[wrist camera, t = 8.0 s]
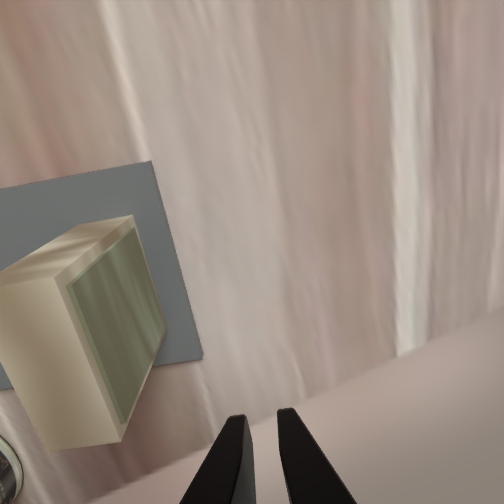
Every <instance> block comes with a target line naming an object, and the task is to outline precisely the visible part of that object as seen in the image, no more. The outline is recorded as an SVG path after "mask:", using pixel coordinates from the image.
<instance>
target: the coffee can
mask: <svg viewBox="0 0 504 504" xmlns="http://www.w3.org/2000/svg"><path fill="white" fill-rule="evenodd" d="M22 480H23V473H22V468H21V464H20V461H19V459H18V457H17V455H16V454H15V452H14V450H13V449H12V448H11V447H10V445H9V444H8V443H7V442H6V441H4V440H3V439H2V437H1V436H0V504H11V502H12V501H13V500H14V499H15V498H16V496H17V495H18V493H19V491H20V489H21V486H22Z"/></svg>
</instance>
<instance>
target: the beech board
mask: <svg viewBox="0 0 504 504" xmlns="http://www.w3.org/2000/svg"><path fill="white" fill-rule="evenodd" d="M166 330H167V325H166V322H165V318H164V315H163V312H162V308H161V305H160V302H159V299H158V295H157V292H156V289H155V286H154V282H153V279H152V276H151V272H150V269H149V266H148V263H147V259H146V256H145V253H144V249H143V246H142V243H141V240H140V236H139V233H138V230H137V227H136V223H135V220H134V217H133V215H129V216H123V217H118V218H112V219H106V220H101V221H95V222H90V223H84V224H79V225H77V226H75V227H74V228H72V229H70V230H69V231H67V232H65V233H64V234H62V235H60V236H59V237H57V238H55V239H54V240H52V241H50V242H49V243H47V244H45V245H44V246H42V247H40V248H39V249H37V250H35V251H34V252H32V253H30V254H29V255H27V256H25V257H24V258H22V259H20V260H19V261H17V262H15V263H14V264H12V265H10V266H9V267H7V268H5V269H4V270H2V271H0V362H1V364H2V366H3V368H4V370H5V372H6V374H7V376H8V378H9V380H10V382H11V384H12V385H13V387H14V389H15V391H16V393H17V395H18V397H19V399H20V401H21V403H22V405H23V407H24V409H25V411H26V413H27V415H28V417H29V419H30V421H31V423H32V425H33V427H34V429H35V430H36V432H37V434H38V436H39V438H40V440H41V442H42V444H43V446H44V448H45V450H46V452H53V451H60V450H67V449H74V448H81V447H88V446H95V445H103V444H110V443H117V442H121V441H122V438H123V436H124V433H125V431H126V429H127V426H128V424H129V421H130V419H131V416H132V414H133V411H134V409H135V406H136V404H137V401H138V399H139V397H140V394H141V392H142V389H143V387H144V384H145V382H146V379H147V377H148V374H149V372H150V370H151V367H152V365H153V362H154V360H155V357H156V355H157V352H158V350H159V347H160V345H161V343H162V340H163V338H164V335H165V333H166Z"/></svg>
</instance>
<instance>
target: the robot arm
mask: <svg viewBox="0 0 504 504" xmlns="http://www.w3.org/2000/svg"><path fill="white" fill-rule="evenodd" d="M277 422H278V438H279V451H280V457H281V462H282V467H283V472H284V477H285V482H286V487H287V492H288V497H289V501H290V504H357V503H356V501H355V500H354V498H353V497H352V495H351V494H350V492H349V491H348V489H347V488H346V486H345V485H344V483H343V482H342V480H341V479H340V477H339V476H338V474H337V473H336V471H335V470H334V468H333V467H332V465H331V464H330V462H329V461H328V459H327V458H326V456H325V454H324V453H323V451H322V450H321V448H320V447H319V446H318V444H317V443H316V441H315V440H314V438H313V436H312V435H311V434H310V432H309V430H308V429H307V427H306V426H305V424H304V423H303V421H302V420H301V418H300V417H299V415H298V414H297V412H296V411H295V409H294V408H284V409H279V410H278V411H277ZM254 474H255V473H254V457H253V443H252V438H251V434H250V429H249V425H248V421H247V417H246V415H244V414H241V415H234V416H230V417H229V418H228V419H227V421H226V423H225V425H224V426H223V428H222V430H221V432H220V433H219V435H218V437H217V439H216V440H215V442H214V444H213V446H212V447H211V449H210V451H209V453H208V455H207V456H206V458H205V460H204V461H203V463H202V465H201V467H200V468H199V470H198V472H197V474H196V475H195V477H194V479H193V481H192V482H191V484H190V486H189V488H188V489H187V491H186V493H185V494H184V496H183V498H182V500H181V501H180V503H179V504H256V493H255V492H256V490H255V475H254Z"/></svg>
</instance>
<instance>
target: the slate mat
mask: <svg viewBox="0 0 504 504" xmlns="http://www.w3.org/2000/svg"><path fill="white" fill-rule="evenodd" d="M129 215H133V217H134V220H135V223H136V227H137V230H138V233H139V236H140V240H141V243H142V246H143V249H144V253H145V256H146V259H147V263H148V266H149V269H150V272H151V276H152V279H153V282H154V286H155V289H156V292H157V295H158V299H159V302H160V305H161V308H162V312H163V315H164V318H165V322H166V325H167V330H166V333H165V335H164V338H163V340H162V343H161V345H160V347H159V350H158V352H157V355H156V357H155V360H154V362H153V365H152V367H153V366H159V365H166V364H172V363H179V362H186V361H192V360H199V359H202V358H203V351H202V347H201V343H200V339H199V336H198V332H197V328H196V325H195V321H194V317H193V314H192V310H191V306H190V302H189V299H188V295H187V291H186V288H185V284H184V280H183V276H182V273H181V269H180V265H179V262H178V258H177V254H176V251H175V247H174V243H173V239H172V236H171V232H170V228H169V225H168V221H167V217H166V213H165V210H164V206H163V202H162V199H161V195H160V191H159V188H158V184H157V180H156V176H155V173H154V169H153V165H152V162H151V161H146V162H141V163H136V164H130V165H125V166H120V167H114V168H109V169H104V170H98V171H93V172H88V173H82V174H77V175H72V176H66V177H61V178H56V179H50V180H45V181H40V182H34V183H29V184H24V185H18V186H13V187H8V188H2V189H0V271H2V270H4V269H5V268H7V267H9V266H10V265H12V264H14V263H15V262H17V261H19V260H20V259H22V258H24V257H25V256H27V255H29V254H30V253H32V252H34V251H35V250H37V249H39V248H40V247H42V246H44V245H45V244H47V243H49V242H50V241H52V240H54V239H55V238H57V237H59V236H60V235H62V234H64V233H65V232H67V231H69V230H70V229H72V228H74V227H75V226H77V225H79V224H84V223H90V222H95V221H101V220H106V219H112V218H118V217H123V216H129ZM7 388H14V387H13V385H12V384H11V382H10V380H9V378H8V376H7V374H6V372H5V370H4V368H3V366H2V364H1V362H0V390H1V389H7Z"/></svg>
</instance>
